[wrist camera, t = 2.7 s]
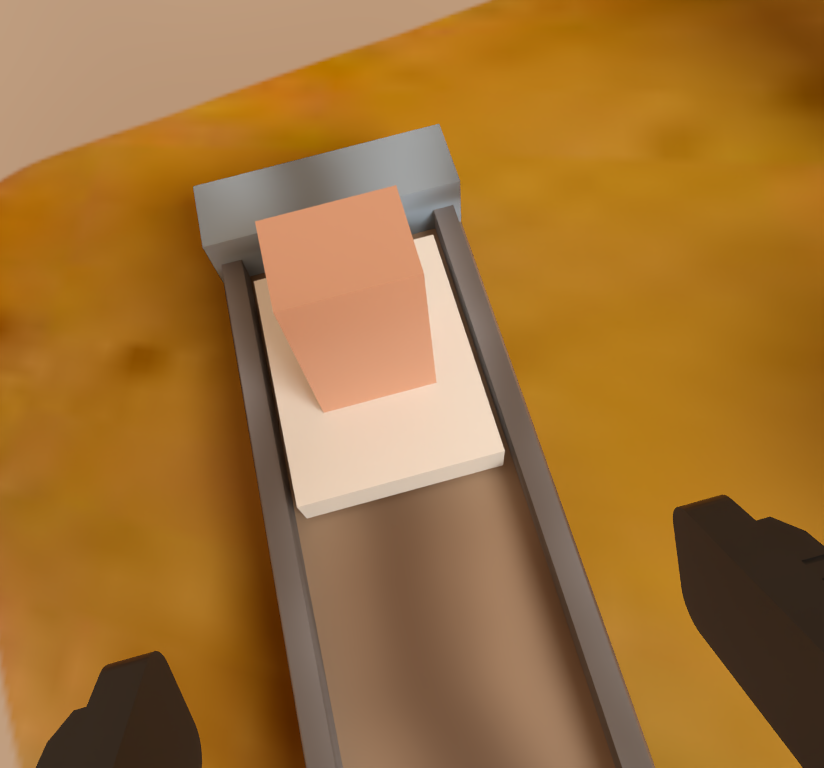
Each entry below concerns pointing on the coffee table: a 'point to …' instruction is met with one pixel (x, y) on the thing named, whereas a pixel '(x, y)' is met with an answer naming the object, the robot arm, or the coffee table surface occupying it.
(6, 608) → the coffee table surface
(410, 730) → the rail
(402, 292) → the carriage
